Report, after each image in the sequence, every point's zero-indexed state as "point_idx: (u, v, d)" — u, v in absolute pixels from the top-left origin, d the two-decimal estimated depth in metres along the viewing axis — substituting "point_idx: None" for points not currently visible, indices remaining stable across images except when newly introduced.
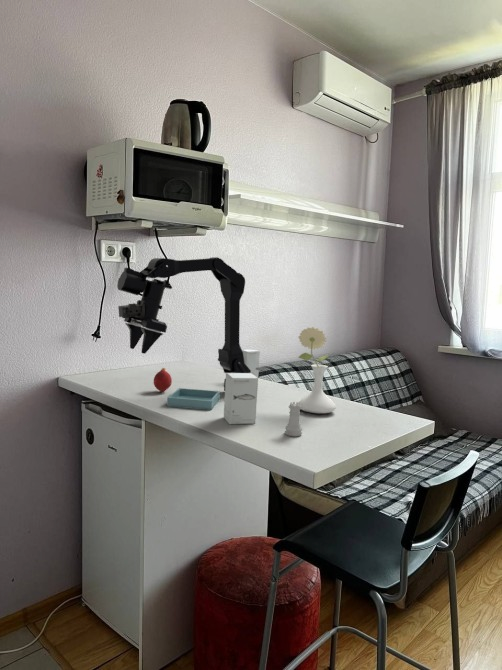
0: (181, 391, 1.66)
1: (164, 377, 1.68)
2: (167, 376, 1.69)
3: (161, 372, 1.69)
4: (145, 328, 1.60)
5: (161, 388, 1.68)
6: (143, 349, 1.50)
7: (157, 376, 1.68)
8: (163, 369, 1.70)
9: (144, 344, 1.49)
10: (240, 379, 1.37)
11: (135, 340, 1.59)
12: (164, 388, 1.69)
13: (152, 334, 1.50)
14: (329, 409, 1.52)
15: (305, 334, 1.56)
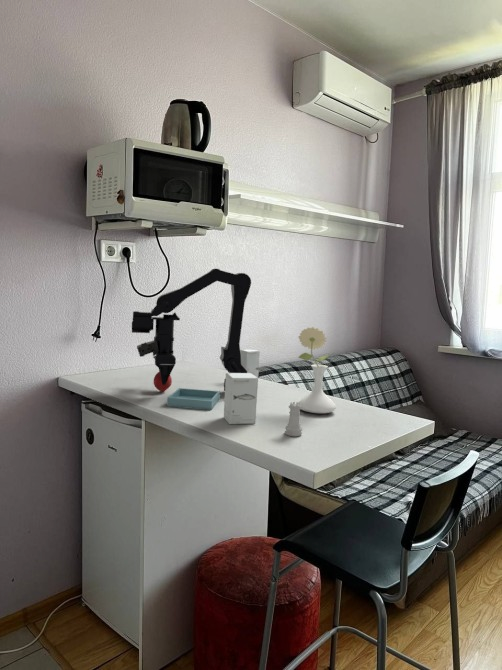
0: (181, 391, 1.66)
1: None
2: None
3: None
4: None
5: (161, 388, 1.68)
6: (162, 381, 1.65)
7: (157, 376, 1.68)
8: None
9: (161, 377, 1.65)
10: (240, 379, 1.37)
11: None
12: (164, 388, 1.69)
13: (166, 366, 1.64)
14: (329, 409, 1.52)
15: (305, 334, 1.56)
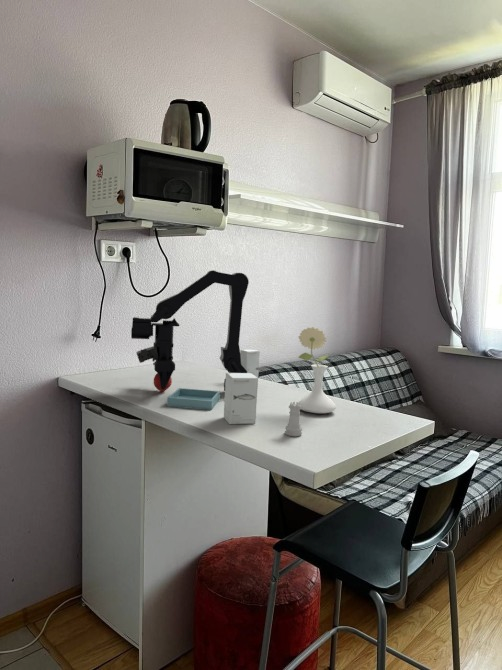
0: (181, 391, 1.66)
1: None
2: None
3: None
4: None
5: None
6: (161, 386, 1.67)
7: (157, 376, 1.68)
8: None
9: (161, 382, 1.66)
10: (240, 379, 1.37)
11: None
12: None
13: (166, 372, 1.66)
14: (329, 409, 1.52)
15: (305, 334, 1.56)
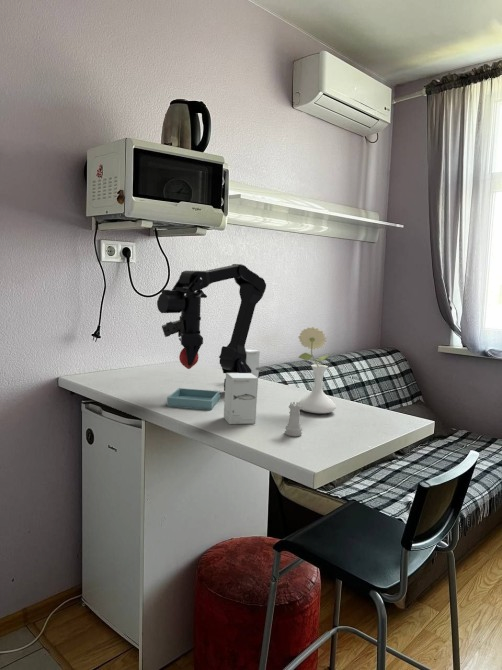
0: (181, 391, 1.66)
1: None
2: None
3: None
4: None
5: (187, 364, 1.58)
6: (188, 361, 1.57)
7: (183, 351, 1.58)
8: None
9: (187, 357, 1.56)
10: (240, 379, 1.37)
11: None
12: None
13: (193, 346, 1.56)
14: (329, 409, 1.52)
15: (305, 334, 1.56)
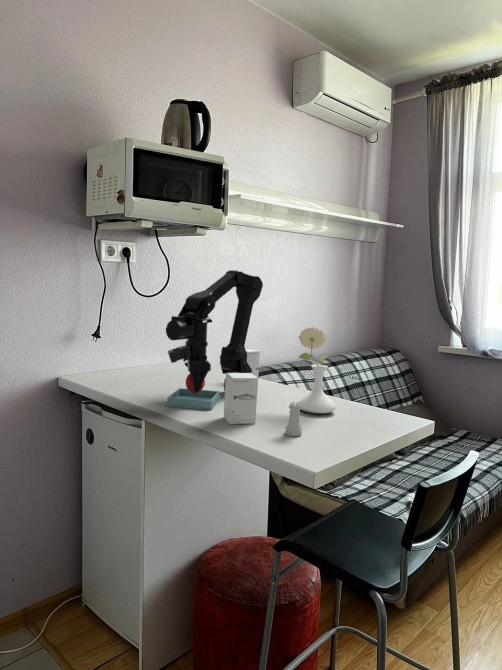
0: (181, 391, 1.66)
1: None
2: None
3: None
4: None
5: (194, 390, 1.57)
6: (195, 387, 1.55)
7: (190, 377, 1.57)
8: None
9: (194, 383, 1.55)
10: (240, 379, 1.37)
11: None
12: None
13: (200, 372, 1.54)
14: (329, 409, 1.52)
15: (305, 334, 1.56)
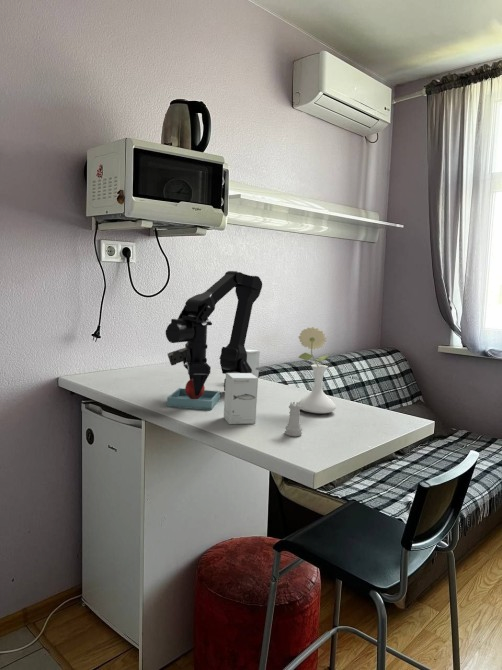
0: (181, 391, 1.66)
1: None
2: None
3: None
4: None
5: (194, 396, 1.57)
6: (195, 391, 1.54)
7: (189, 384, 1.57)
8: None
9: (195, 387, 1.53)
10: (240, 379, 1.37)
11: None
12: (197, 396, 1.57)
13: (200, 376, 1.53)
14: (329, 409, 1.52)
15: (305, 334, 1.56)
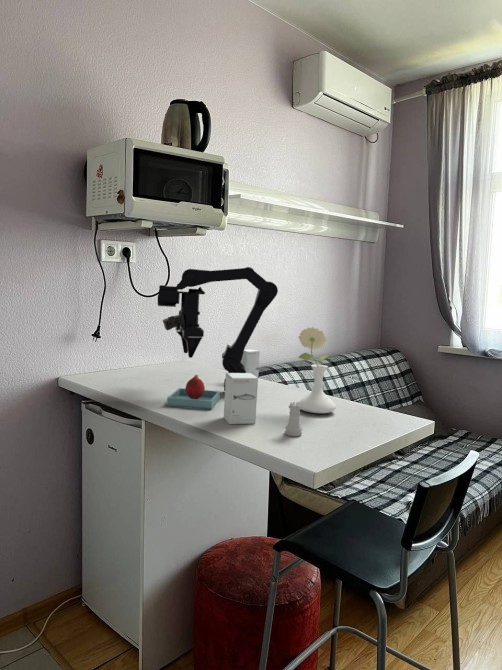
0: (181, 391, 1.66)
1: (197, 385, 1.56)
2: (200, 384, 1.57)
3: (193, 379, 1.57)
4: None
5: (194, 396, 1.57)
6: (189, 354, 1.68)
7: (189, 383, 1.57)
8: (196, 376, 1.58)
9: (188, 350, 1.67)
10: (240, 379, 1.37)
11: (187, 344, 1.77)
12: (197, 396, 1.57)
13: (194, 339, 1.66)
14: (329, 409, 1.52)
15: (305, 334, 1.56)
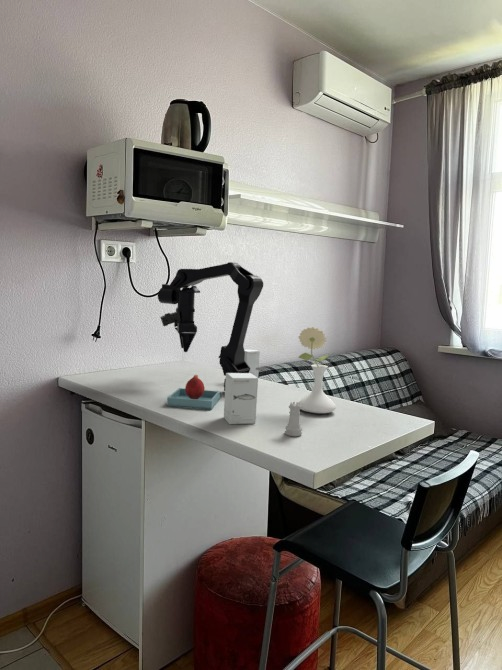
0: (181, 391, 1.66)
1: (197, 385, 1.56)
2: (200, 383, 1.57)
3: (193, 379, 1.57)
4: None
5: (193, 396, 1.57)
6: (184, 348, 1.79)
7: (189, 383, 1.57)
8: (195, 376, 1.58)
9: (183, 344, 1.78)
10: (240, 379, 1.37)
11: None
12: (197, 396, 1.57)
13: (188, 335, 1.78)
14: (329, 409, 1.52)
15: (305, 334, 1.56)
